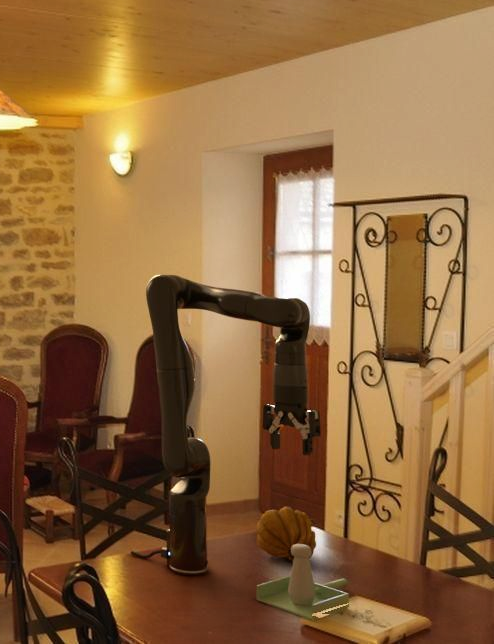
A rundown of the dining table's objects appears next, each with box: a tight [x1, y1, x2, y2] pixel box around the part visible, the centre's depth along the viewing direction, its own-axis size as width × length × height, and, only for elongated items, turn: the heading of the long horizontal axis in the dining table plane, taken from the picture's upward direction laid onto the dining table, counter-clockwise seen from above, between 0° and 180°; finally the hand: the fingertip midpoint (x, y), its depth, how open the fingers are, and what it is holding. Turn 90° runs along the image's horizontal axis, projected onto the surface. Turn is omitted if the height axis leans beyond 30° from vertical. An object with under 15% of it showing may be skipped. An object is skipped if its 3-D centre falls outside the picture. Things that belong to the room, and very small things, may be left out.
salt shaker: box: [288, 544, 316, 606], centre depth 202 cm, size 6×6×13 cm
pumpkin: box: [256, 505, 317, 563], centre depth 235 cm, size 14×16×20 cm
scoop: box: [256, 574, 350, 622], centre depth 204 cm, size 22×15×3 cm, turn 122°
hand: (291, 451), depth 209 cm, fingers open, 8 cm apart
